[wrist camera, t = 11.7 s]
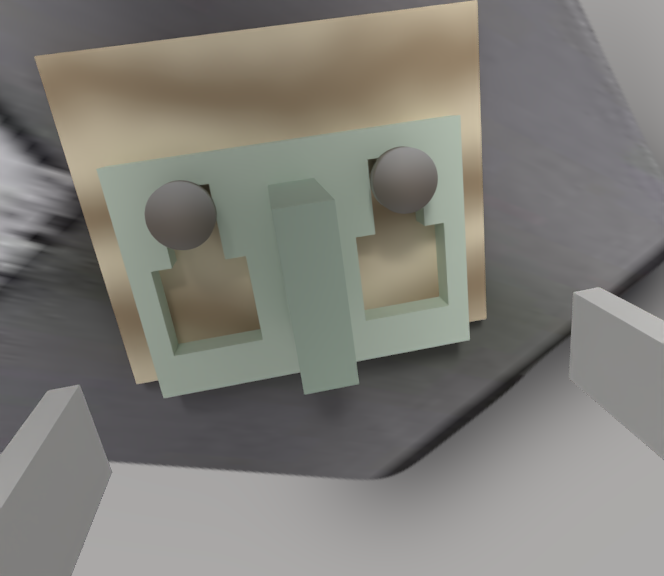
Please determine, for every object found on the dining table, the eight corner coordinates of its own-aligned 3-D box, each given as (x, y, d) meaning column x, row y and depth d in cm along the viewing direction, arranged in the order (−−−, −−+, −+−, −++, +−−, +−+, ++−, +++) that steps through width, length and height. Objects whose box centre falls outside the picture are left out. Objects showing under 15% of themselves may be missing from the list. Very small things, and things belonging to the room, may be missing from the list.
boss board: (42, 58, 24) (-4, 45, 20) (469, 4, 26) (511, -19, 22) (140, 376, 30) (120, 418, 26) (479, 313, 32) (514, 342, 28)
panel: (105, 166, 25) (29, 189, 17) (448, 115, 27) (536, 113, 18) (168, 384, 30) (132, 489, 21) (459, 329, 31) (534, 406, 23)
